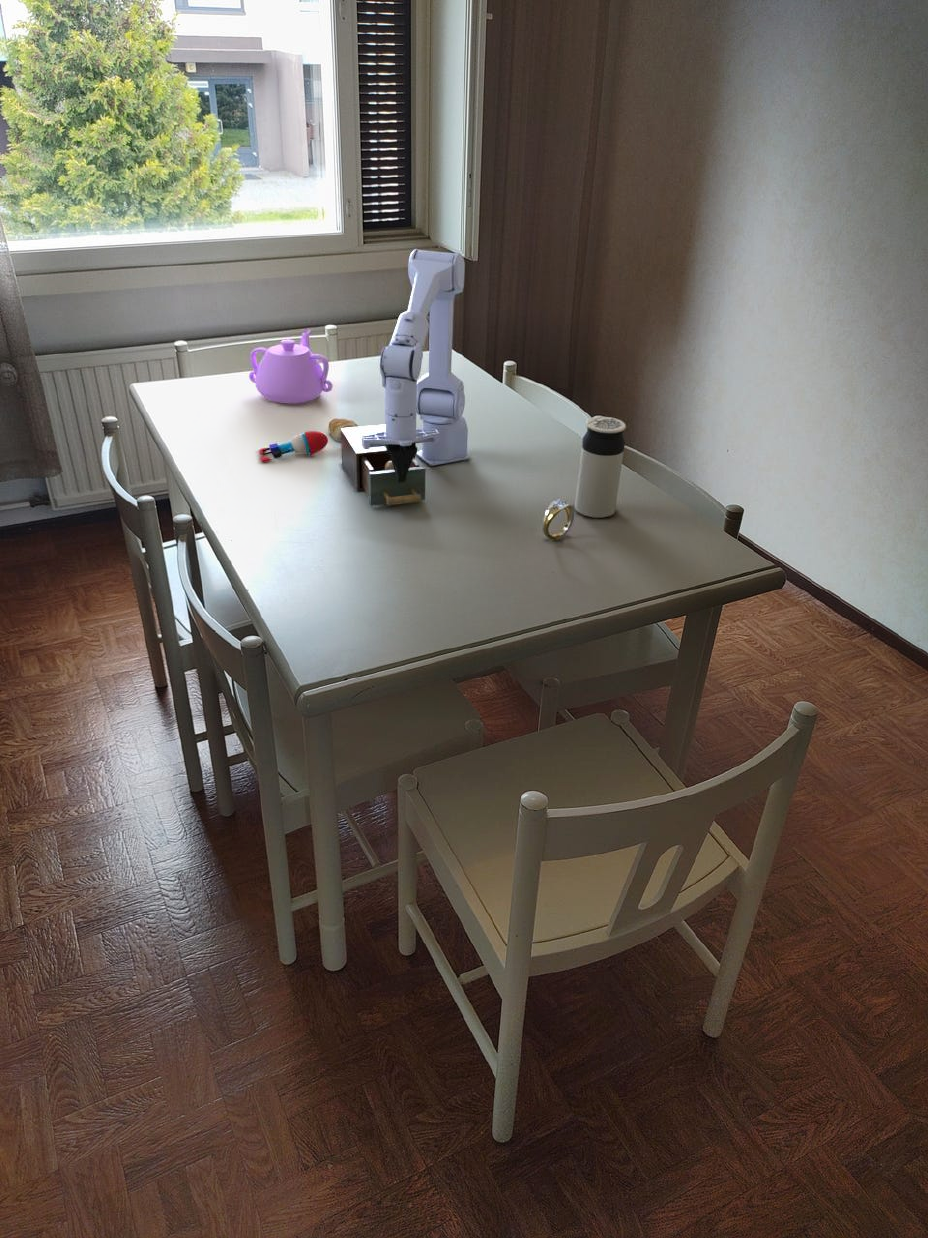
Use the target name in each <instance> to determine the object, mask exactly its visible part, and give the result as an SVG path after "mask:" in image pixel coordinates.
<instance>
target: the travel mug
mask: <svg viewBox="0 0 928 1238" xmlns="http://www.w3.org/2000/svg"><path fill="white" fill-rule="evenodd" d="M585 426H586V432H585V434H584V435H583V437H582V442H581V451H580V459H579V469H578V476H577V484H576V493H575V501H574V509H575V510H576V511H577V513H579V514H581V515H583V516H586V517H589V518H595V519H601V518H602V519H603V518H607V517H610V516H612V515H614V514H615V512H616V507H617V499H618V493H619V486H620V479H621V473H622V467H623V458H624V452H625V445H626V440H625V438H624V435H623V434H624V431H625V430H626V428H627V425H626V423H625V422H624V421H622V420H621V419H618V418H615V417H609V416H594V417H590V418H588V419H587V420H586V421H585Z"/></svg>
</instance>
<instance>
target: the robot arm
mask: <svg viewBox="0 0 928 1238" xmlns="http://www.w3.org/2000/svg"><path fill="white" fill-rule="evenodd" d="M465 263H466V262H465V260H464V257H463V255H462V253H460V252H456V253H455V252H443V251H434V250H423V249H420V248H419V249H418V248H414V249H413V250H412V252H411V253H410V255H409V258H408V263H407V264H408V265H407V274H408V279H409V281H410V286H411V288H412V289H411V293H410V297H409V298H410V299H409V302H408V306H407V310H406V311H404V312H402V313H400V315H399V316H398V319H397V323H396V325H395V328H394V330H393V334H392V337H391V340H390V342H389V344H387V346H384V347H382V349H381V352H380V356H379V357H380V358H379V372H380V375H381V384H382V387H383V388H384V411H385V412H384V418H385V419H384V421H385V422H384V425H385V431H383V432H379V433H375V434H371V435H366V436H361V440H362V447H363V449H364V450H366V449H370V448H372V447H383V446H385V447H386V449H387V451H388V453H389V456H390V458H391V461H392V464H393V467H394V471H395V476H396V480H397V481H398V482H399V483H400V482H406V476H407V473H408V470H409V467H410V464H411V462H412V460H413V459H414V457H415V458H416V456H417V457H419V458H420V459H421V460H422V461H424V463H426V464H427V465H428V466H430V467H435V466H438V465H439V466H440V465H443V464H449V463H450V464H451V463H455V462H460V461H466V460H468V459H469V456H468V438H469V437H468V436H469V434H468V433H469V431H468V430H469V429H468V424H467V421H466V418H465V417H464V416H463V415H464V411H465V405H466V395H465V385H464V381H462V379H460V378H459V377H457V376H456V375H455V374H454V373H453V372H452V358H453V333H454V331H453V328H454V326H453V325H454V302H455V297H456V295H457V294H461V293H463V292H464V287H465V271H466V270H465V269H466V268H465V267H466V264H465ZM428 314H429V321H428V319H427V317H428ZM428 333H429V335H428ZM427 336H428V337H429V338H428V372H427V373H425V374H424V375H422V376H421V375H420V374H421V371H422V363H423V358H424V352H423V347H424V345H425V342H426V339H427ZM420 376H421V377H420ZM417 415H418V416H419V419H420V420H421V421H422V428H421V429H420V428H417ZM417 444H421V449H419V450H418V447H417Z"/></svg>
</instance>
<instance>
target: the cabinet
mask: <svg viewBox="0 0 928 1238" xmlns="http://www.w3.org/2000/svg"><path fill="white" fill-rule="evenodd" d="M383 431H385V424H377V425H376V424H375V425H365V426H364V425H363V426H359V427H351V428H341V442H340V449H341V450H340V451H341V465H342V468H343V469H344V471H345V473H346V475H347V476H348V478H349V480H350V481H351V484H352V485H353V486H354V488H355V490H356V491H357V492H366V491H365V490H364V488H363V486H362V485H361V483H360V471H359V456H362V455H373V454H383V453H388V451H387V449H386V447H385V446H383V447H372V448H370V449H366V450H364V449H363V447H362V440H361V436H366V435H371V434H375V433H379V432H383ZM414 458H415V459H416V456H415V457H414Z"/></svg>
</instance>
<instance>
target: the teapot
mask: <svg viewBox="0 0 928 1238" xmlns="http://www.w3.org/2000/svg"><path fill="white" fill-rule="evenodd" d="M310 335H311V328H306V329H305V330H303V332H302V335H301V337H300V343H299V344H298V343H297V344H296V340H294V339H289V338H288V339H287V338H286V339H282V340H281V341H280V344H275V345H273V346H269V348H265V347H256V348H254V349H253V350H251V352H250V355H249V359H250V364H251V367H252V371H250V372H249V374H248V379H249V381H251V382H252V383H253V384H255V388H256V390H257V391H258V393H260V395H261V396H262V397H263V398H264V399H266V400H267V401H270V402H274V403H278V404H302V403H307V402H311V401H313V400H315V399H317V398H318V397H319V396H320V395H321V394H322V393H323V392H325V393H328V392H330V391H332V389H333V383H332V382H331V380H329V379H327V378H328V374H329V369H330V368H329V367H330V365H329V364H330V363H329V360H328V358H327V357H325V356H324V355H323V354H320V353H313V352H312V351H311V347H310V346H311V345H310ZM257 353H261V354H263V356H262V358H261V360H260V362H259V364H258V362H257ZM319 361H320V362H321V364H322V366H321V364H320V362H319Z"/></svg>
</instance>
